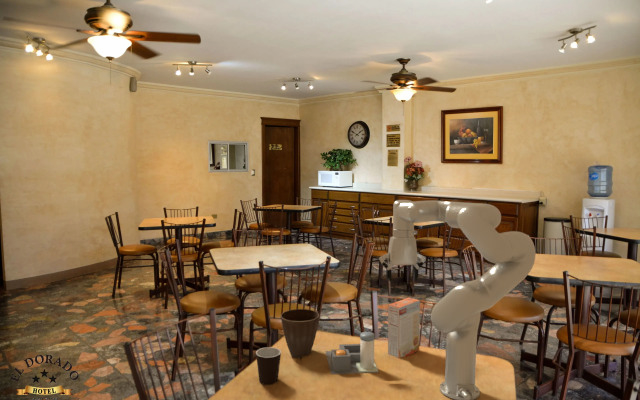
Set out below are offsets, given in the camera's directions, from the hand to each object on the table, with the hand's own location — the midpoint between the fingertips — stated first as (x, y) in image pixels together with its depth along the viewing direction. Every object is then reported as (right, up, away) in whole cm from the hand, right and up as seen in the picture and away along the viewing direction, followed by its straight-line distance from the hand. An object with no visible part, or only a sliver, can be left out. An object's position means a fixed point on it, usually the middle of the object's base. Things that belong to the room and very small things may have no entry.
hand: (402, 279), depth 171 cm
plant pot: (-38, -31, +11) cm, 51 cm away
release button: (-23, -30, -3) cm, 37 cm away
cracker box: (+3, -32, +13) cm, 34 cm away
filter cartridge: (-13, -31, -3) cm, 34 cm away
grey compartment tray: (-19, -32, +3) cm, 37 cm away
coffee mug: (-48, -33, -9) cm, 59 cm away
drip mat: (-13, -33, -3) cm, 35 cm away
